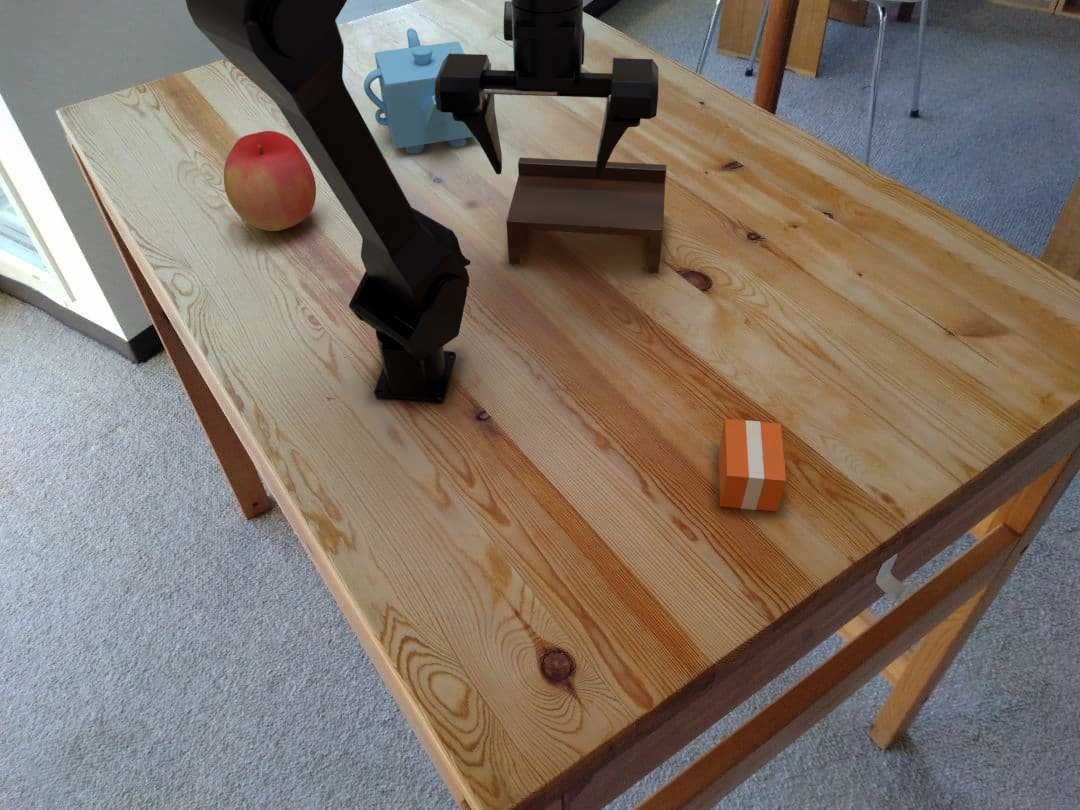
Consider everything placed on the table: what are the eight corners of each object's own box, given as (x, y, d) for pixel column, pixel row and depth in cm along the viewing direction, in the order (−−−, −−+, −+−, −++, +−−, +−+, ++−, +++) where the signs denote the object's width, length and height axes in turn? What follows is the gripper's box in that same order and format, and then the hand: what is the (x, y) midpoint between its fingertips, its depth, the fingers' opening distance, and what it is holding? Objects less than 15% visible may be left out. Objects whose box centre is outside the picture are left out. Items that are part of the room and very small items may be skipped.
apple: (239, 207, 99) (213, 128, 92) (321, 194, 101) (302, 116, 94) (239, 254, 93) (212, 173, 86) (327, 240, 94) (307, 160, 87)
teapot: (383, 177, 103) (367, 88, 95) (364, 109, 115) (349, 25, 107) (508, 157, 106) (504, 69, 98) (477, 92, 118) (471, 9, 110)
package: (776, 512, 68) (786, 480, 65) (719, 507, 68) (727, 475, 65) (772, 454, 72) (781, 422, 69) (718, 450, 72) (725, 418, 69)
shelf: (658, 273, 89) (664, 217, 84) (508, 264, 91) (505, 208, 86) (661, 219, 96) (666, 164, 91) (521, 211, 98) (519, 157, 93)
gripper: (664, -35, 72) (649, 134, 84) (448, -39, 74) (462, 127, 85) (665, 18, 65) (649, 196, 76) (424, 12, 66) (443, 188, 77)
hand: (548, 173), depth 79 cm, fingers open, 9 cm apart
